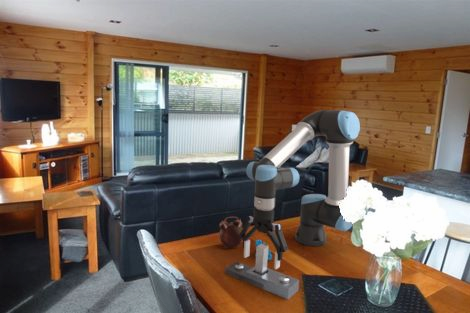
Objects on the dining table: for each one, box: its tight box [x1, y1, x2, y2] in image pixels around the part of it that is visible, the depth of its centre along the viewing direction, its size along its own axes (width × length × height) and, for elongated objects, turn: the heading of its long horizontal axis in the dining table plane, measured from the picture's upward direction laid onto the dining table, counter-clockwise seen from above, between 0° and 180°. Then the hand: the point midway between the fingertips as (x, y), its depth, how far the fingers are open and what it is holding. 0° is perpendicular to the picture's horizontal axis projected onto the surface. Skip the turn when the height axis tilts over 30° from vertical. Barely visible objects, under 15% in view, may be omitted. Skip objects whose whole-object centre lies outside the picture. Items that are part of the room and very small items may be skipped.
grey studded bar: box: [224, 260, 300, 300], centre depth 131 cm, size 8×28×5 cm, turn 53°
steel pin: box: [255, 244, 270, 276], centre depth 130 cm, size 3×3×14 cm
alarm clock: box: [218, 215, 243, 249], centre depth 159 cm, size 11×5×15 cm, turn 105°
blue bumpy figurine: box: [254, 239, 273, 261], centre depth 151 cm, size 11×6×10 cm
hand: (261, 262), depth 130 cm, fingers open, 13 cm apart
